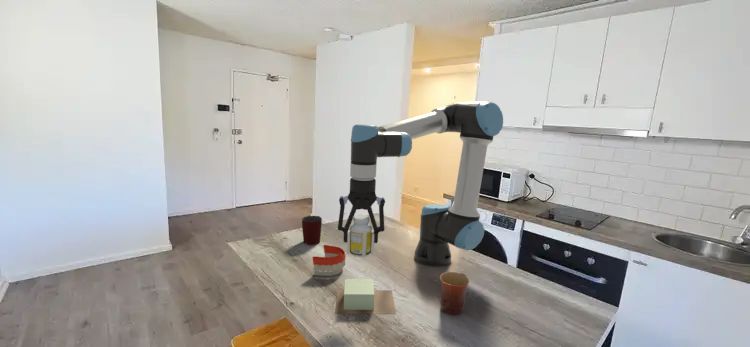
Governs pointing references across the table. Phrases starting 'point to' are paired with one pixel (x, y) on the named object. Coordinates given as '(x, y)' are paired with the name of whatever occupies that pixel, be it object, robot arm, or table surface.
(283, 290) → the table surface
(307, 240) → the mug
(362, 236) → the pill bottle
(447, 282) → the mug
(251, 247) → the table surface
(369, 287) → the brick
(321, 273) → the denture model
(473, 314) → the table surface
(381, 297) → the plate
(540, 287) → the table surface
